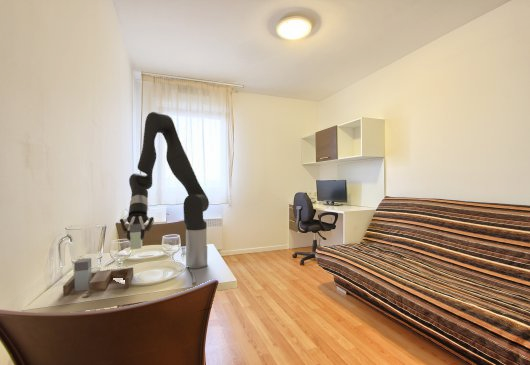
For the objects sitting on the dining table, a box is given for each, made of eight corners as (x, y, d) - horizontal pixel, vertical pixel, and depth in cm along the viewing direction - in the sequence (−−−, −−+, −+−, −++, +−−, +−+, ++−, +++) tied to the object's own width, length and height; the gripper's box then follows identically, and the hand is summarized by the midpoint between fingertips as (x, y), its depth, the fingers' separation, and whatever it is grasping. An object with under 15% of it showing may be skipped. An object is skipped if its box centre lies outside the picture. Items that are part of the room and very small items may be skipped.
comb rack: (133, 278, 102) (133, 267, 102) (129, 290, 91) (128, 277, 91) (75, 285, 95) (75, 273, 95) (63, 299, 85) (63, 285, 85)
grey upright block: (142, 245, 110) (141, 223, 110) (141, 248, 106) (140, 224, 106) (131, 246, 109) (131, 223, 109) (130, 249, 105) (129, 225, 105)
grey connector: (91, 284, 93) (91, 258, 93) (88, 289, 90) (87, 261, 89) (78, 286, 92) (78, 259, 92) (74, 291, 88) (74, 262, 88)
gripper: (119, 202, 112) (114, 236, 101) (154, 201, 117) (153, 232, 105) (122, 213, 117) (117, 245, 106) (155, 211, 122) (154, 242, 111)
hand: (135, 239), depth 106 cm, fingers closed on grey upright block, 4 cm apart
